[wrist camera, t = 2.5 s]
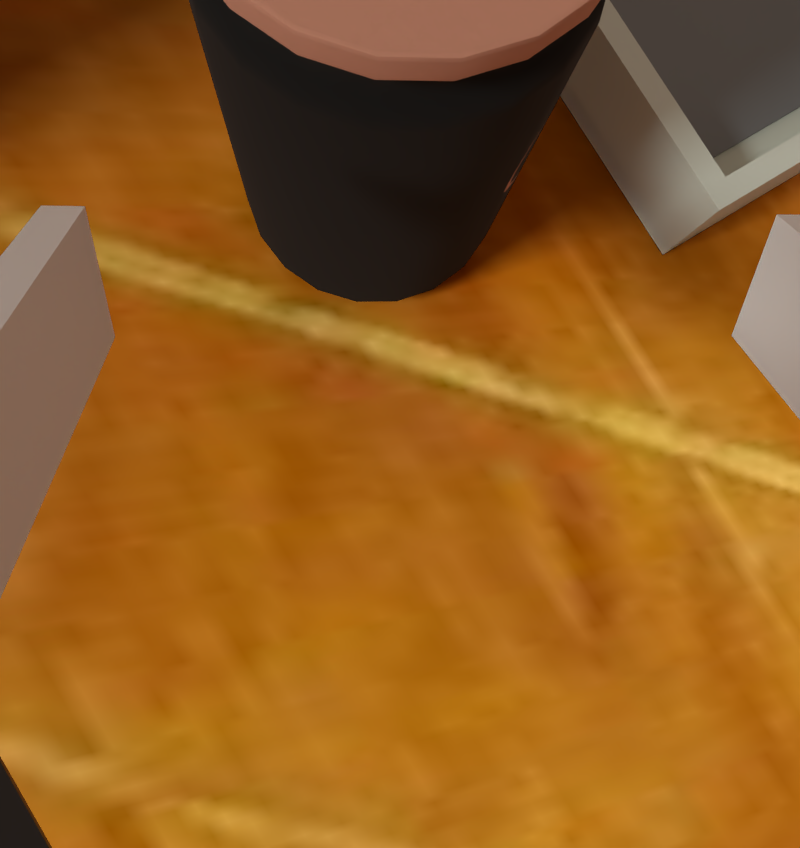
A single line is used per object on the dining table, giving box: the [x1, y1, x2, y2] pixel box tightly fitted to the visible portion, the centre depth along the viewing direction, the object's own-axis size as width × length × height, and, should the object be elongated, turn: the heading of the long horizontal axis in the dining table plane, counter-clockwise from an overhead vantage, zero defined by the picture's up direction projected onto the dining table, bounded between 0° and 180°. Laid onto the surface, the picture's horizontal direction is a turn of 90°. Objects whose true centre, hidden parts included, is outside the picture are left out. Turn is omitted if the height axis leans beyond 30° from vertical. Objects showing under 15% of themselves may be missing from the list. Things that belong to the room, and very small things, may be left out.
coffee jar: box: [189, 0, 605, 302], centre depth 24 cm, size 11×11×18 cm
